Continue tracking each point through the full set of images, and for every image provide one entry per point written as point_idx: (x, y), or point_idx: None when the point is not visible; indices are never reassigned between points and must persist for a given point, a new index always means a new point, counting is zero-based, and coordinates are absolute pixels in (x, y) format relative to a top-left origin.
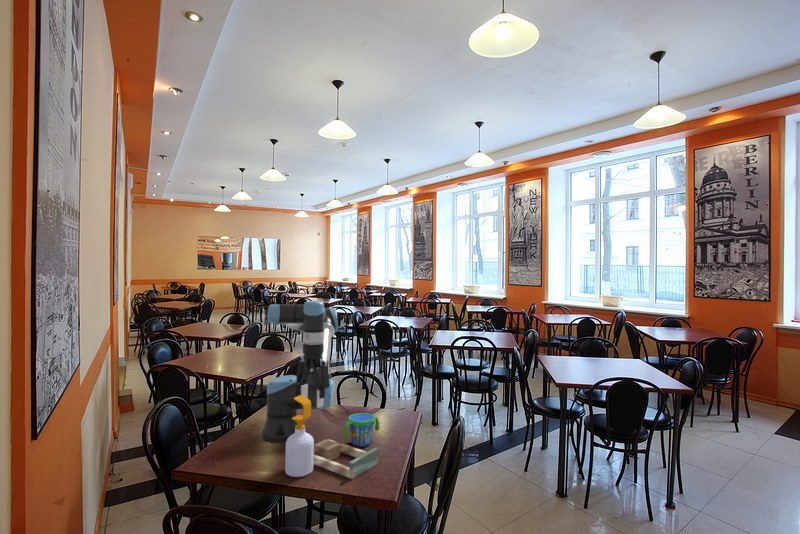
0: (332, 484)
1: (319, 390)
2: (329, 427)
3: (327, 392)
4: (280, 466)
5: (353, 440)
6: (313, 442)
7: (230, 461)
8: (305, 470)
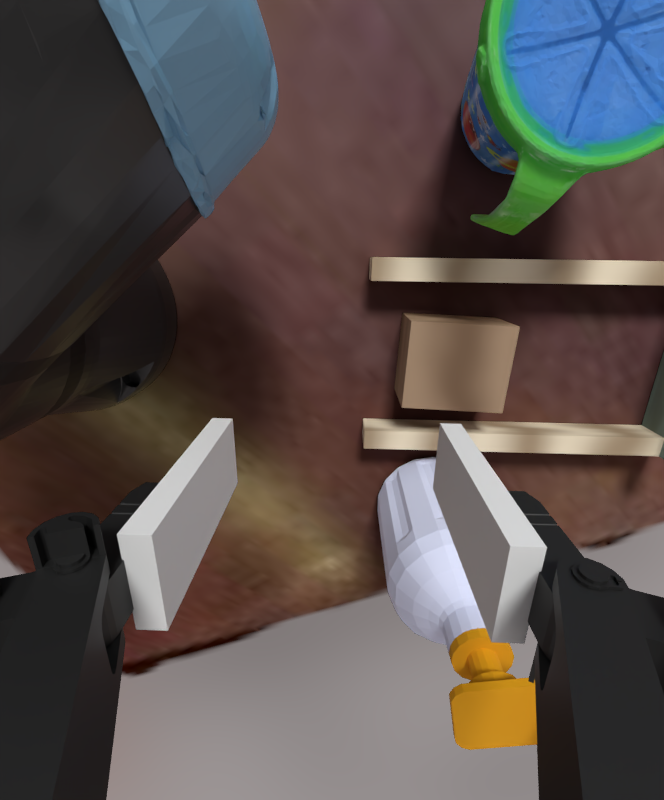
0: (598, 504)
1: (522, 617)
2: None
3: (240, 93)
4: (341, 511)
5: (509, 171)
6: None
7: None
8: None
